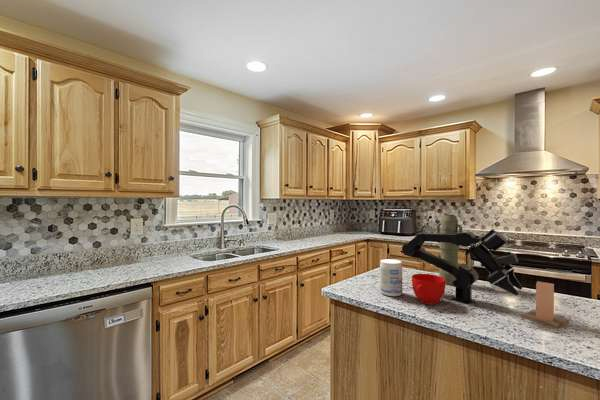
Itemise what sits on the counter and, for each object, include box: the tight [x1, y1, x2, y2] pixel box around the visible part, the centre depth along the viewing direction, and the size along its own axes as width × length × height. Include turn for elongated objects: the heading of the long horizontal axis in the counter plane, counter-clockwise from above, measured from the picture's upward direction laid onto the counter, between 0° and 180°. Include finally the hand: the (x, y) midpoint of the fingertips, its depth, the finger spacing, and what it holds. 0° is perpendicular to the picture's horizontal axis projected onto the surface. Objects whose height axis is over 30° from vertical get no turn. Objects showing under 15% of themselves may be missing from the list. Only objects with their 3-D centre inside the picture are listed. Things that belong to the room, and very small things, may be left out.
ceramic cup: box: [411, 273, 446, 305], centre depth 116 cm, size 13×17×10 cm
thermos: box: [436, 214, 463, 287], centre depth 143 cm, size 9×12×35 cm
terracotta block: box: [535, 280, 555, 321], centre depth 100 cm, size 4×4×12 cm
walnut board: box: [520, 309, 570, 329], centre depth 100 cm, size 10×10×1 cm
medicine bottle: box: [488, 273, 509, 293], centre depth 133 cm, size 7×7×12 cm
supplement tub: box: [379, 258, 403, 297], centre depth 127 cm, size 10×10×15 cm
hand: (519, 291), depth 105 cm, fingers open, 9 cm apart
